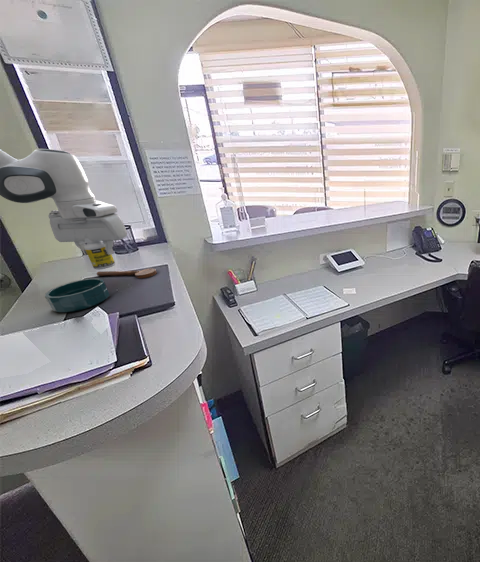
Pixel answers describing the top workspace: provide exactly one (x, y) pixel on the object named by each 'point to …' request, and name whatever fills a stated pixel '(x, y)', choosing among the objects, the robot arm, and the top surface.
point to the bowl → (77, 295)
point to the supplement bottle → (98, 254)
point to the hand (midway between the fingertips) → (99, 254)
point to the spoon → (129, 273)
